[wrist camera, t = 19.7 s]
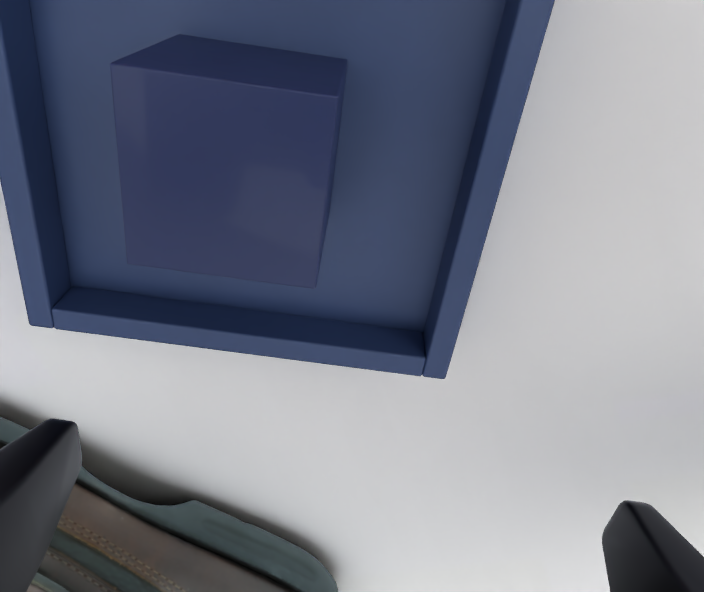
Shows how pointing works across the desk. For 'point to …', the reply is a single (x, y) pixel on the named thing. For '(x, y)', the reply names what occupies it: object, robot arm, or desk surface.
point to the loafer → (163, 547)
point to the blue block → (227, 157)
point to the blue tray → (348, 184)
